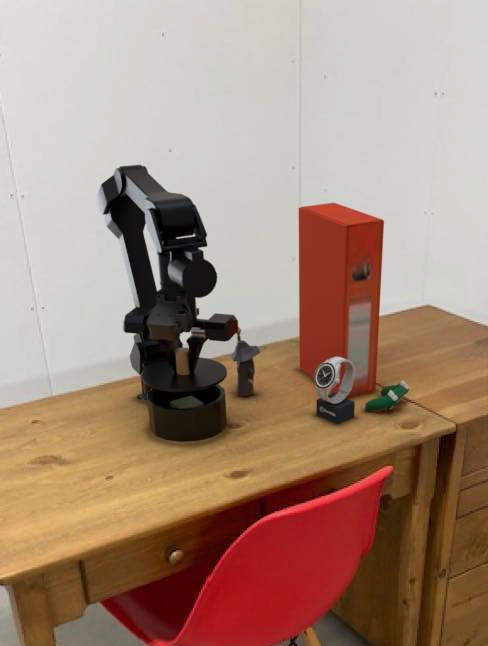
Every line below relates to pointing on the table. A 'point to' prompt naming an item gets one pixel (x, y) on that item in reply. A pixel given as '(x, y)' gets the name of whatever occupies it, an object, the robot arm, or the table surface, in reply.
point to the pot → (187, 414)
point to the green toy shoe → (388, 397)
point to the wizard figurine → (244, 365)
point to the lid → (183, 374)
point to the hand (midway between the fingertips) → (184, 372)
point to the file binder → (340, 291)
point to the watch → (334, 404)
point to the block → (186, 402)
